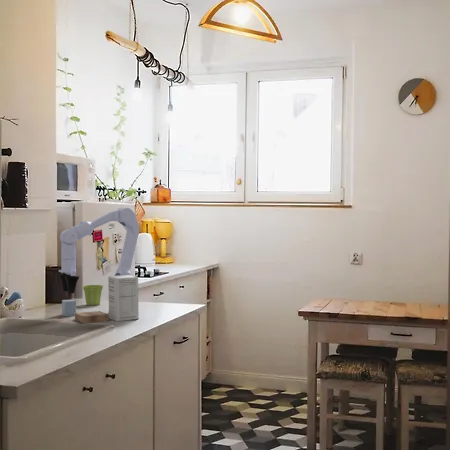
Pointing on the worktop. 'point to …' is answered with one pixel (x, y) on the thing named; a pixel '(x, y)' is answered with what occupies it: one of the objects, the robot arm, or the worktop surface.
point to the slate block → (68, 307)
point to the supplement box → (123, 297)
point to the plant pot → (93, 294)
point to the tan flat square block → (91, 317)
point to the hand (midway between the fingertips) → (68, 292)
